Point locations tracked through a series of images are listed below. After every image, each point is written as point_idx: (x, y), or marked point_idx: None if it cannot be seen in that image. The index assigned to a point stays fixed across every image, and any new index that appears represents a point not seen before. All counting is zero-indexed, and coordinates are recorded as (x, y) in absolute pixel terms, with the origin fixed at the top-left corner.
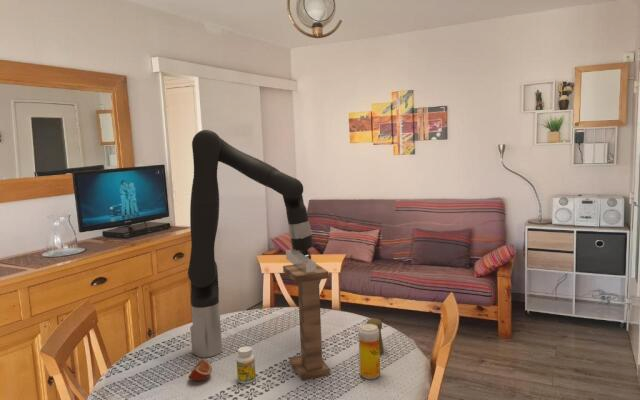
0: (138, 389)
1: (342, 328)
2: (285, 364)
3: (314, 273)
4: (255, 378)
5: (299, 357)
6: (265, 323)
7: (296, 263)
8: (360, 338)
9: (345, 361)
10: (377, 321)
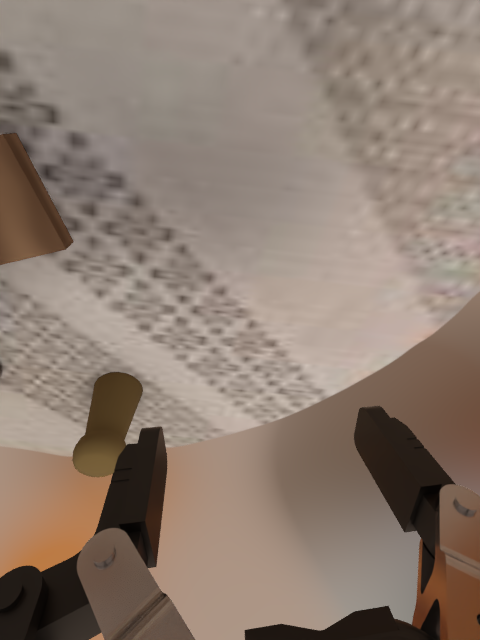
0: None
1: (287, 339)
2: (8, 111)
3: None
4: None
5: (13, 181)
6: (473, 49)
7: None
8: None
9: (54, 321)
10: (84, 473)
